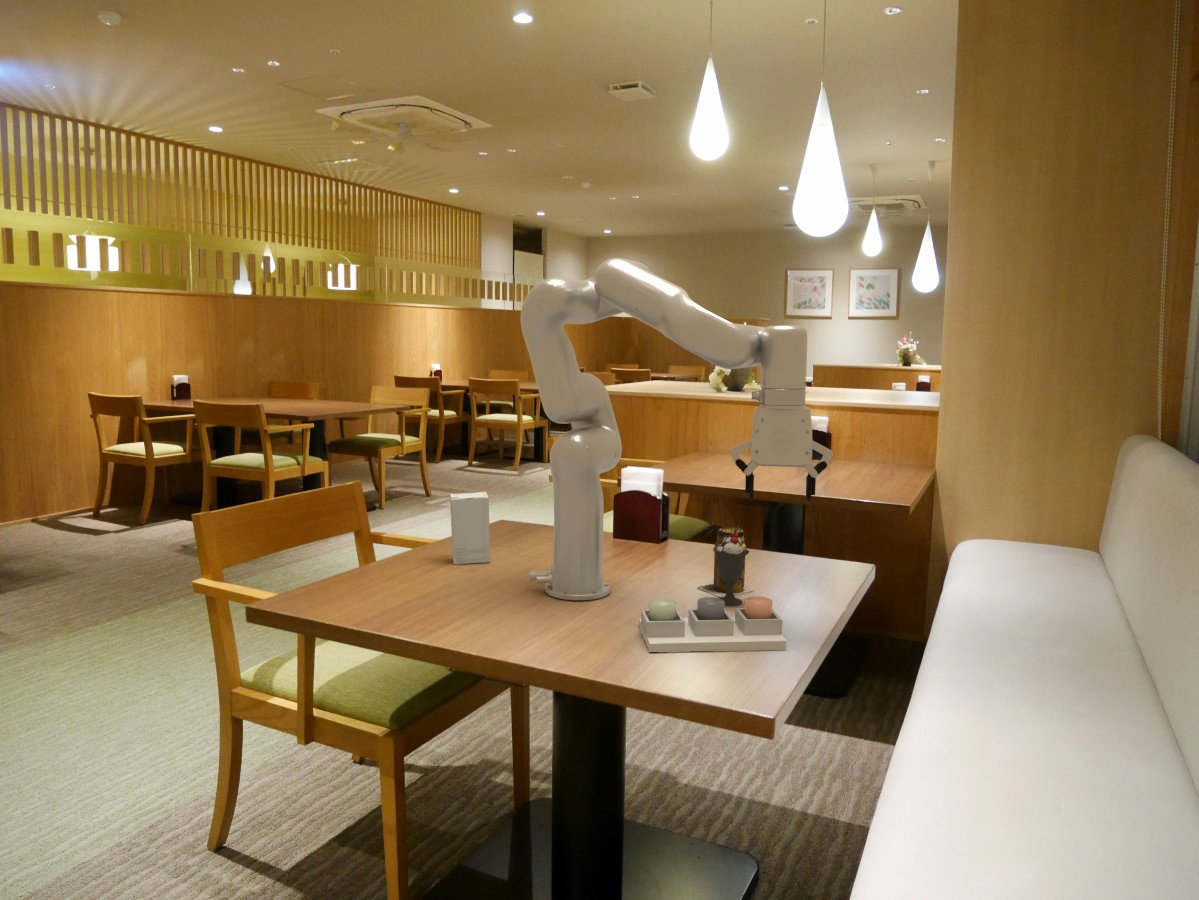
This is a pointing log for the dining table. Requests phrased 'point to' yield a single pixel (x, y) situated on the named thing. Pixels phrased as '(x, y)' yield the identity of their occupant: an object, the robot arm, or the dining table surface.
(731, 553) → the sundae
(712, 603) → the charcoal button
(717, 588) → the condiment
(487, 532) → the skincare box
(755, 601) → the terracotta button
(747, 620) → the panel
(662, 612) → the sage button
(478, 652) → the dining table surface
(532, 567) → the dining table surface
